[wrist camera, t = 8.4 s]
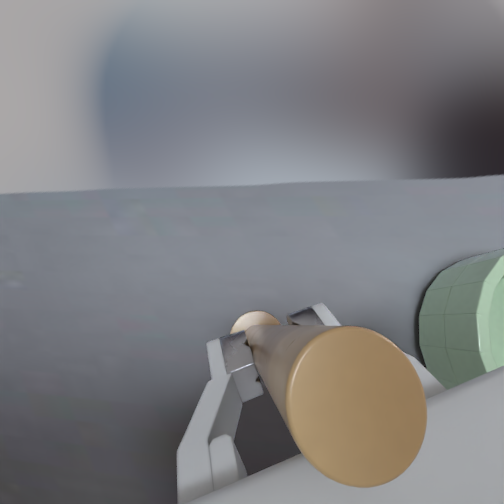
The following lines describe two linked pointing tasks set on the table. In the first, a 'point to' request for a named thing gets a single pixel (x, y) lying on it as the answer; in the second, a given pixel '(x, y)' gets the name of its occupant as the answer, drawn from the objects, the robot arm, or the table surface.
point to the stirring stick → (341, 396)
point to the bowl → (464, 320)
